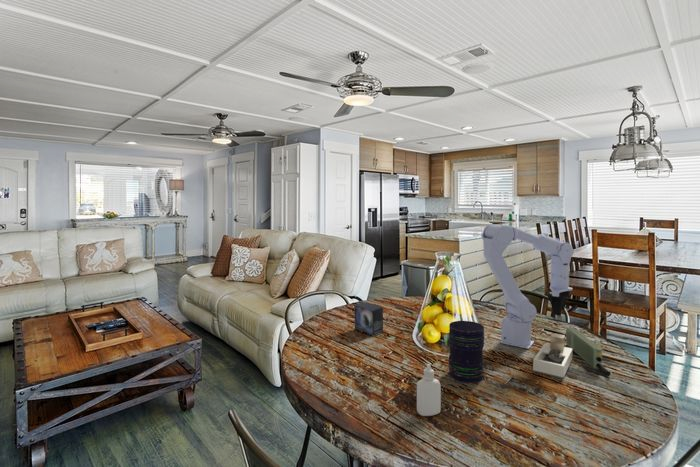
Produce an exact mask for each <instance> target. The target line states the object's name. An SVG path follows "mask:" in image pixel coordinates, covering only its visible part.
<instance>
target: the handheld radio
mask: <svg viewBox="0 0 700 467" xmlns="http://www.w3.org/2000/svg"><path fill="white" fill-rule="evenodd" d="M565 344H566V346H567V347H568V348H573V351H574V353H576V354H577V355H578V356H579V357H580V358H581V357H582V358H581V359H583V360H584V362H586V363H587V364H588V363H589V364H588V365H590V366H591V367H592V368H593V369H595V370H597V369H599V370H600V371H601V372H602V373H603V374H604V375H606V376H607V377H609V376H611V372H610V371H609V370H608V369H607V368H606V367H604V366H603V348H602V347H600V346H599V345H597V344H596V343H595V342H593V341H592V340H590V339H589V338H588V336H585V335H584V334H583V333H581V332H579V331H578V330H577V329H576V328H574V327H573V326H567V327H566V329H565Z"/></svg>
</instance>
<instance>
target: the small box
mask: <svg viewBox="0 0 700 467" xmlns="http://www.w3.org/2000/svg"><path fill="white" fill-rule="evenodd" d="M353 307H354V309H353V310H354V312H353V314H354V330H355V329H356V330H355V331H357V330H359V331H358V332H360V331H362V332H365V333H367V334H366V335H368V334H370V335H375V336H377V335H376V334H378V333H381V332H383V333H384V307H383V306H381V305H377V304H374V303H370V302H368V301H367V302H366V301H363V302H359V303H357V304H354V305H353ZM362 332H361V333H362ZM365 333H364V334H365ZM381 334H382V333H381ZM370 335H369V336H370ZM378 335H379V334H378Z"/></svg>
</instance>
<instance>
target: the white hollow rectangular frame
mask: <svg viewBox="0 0 700 467" xmlns="http://www.w3.org/2000/svg"><path fill="white" fill-rule="evenodd" d="M550 353H554V349H551V348H550V343H547V342H544V344H543V345H542V346H541V348H540V350H539V351H538V352H537V354H536V355H535V356H534V358H533V359H532V360H533V362H532V371H533V372H535V373H539V374H543V375H547V376H550V377H554V378H559V379H563V380H565V377H566V374H567V372H568V369H569V368H570V365H571V364H572V362H573V354H574V353H573V348H570V347H569V346H564V349H563V351H560V354H559V356H560V357H565V358H564V360H563V362H562V363H559V362H554V361H551V360H550V359H549V354H550Z"/></svg>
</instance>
